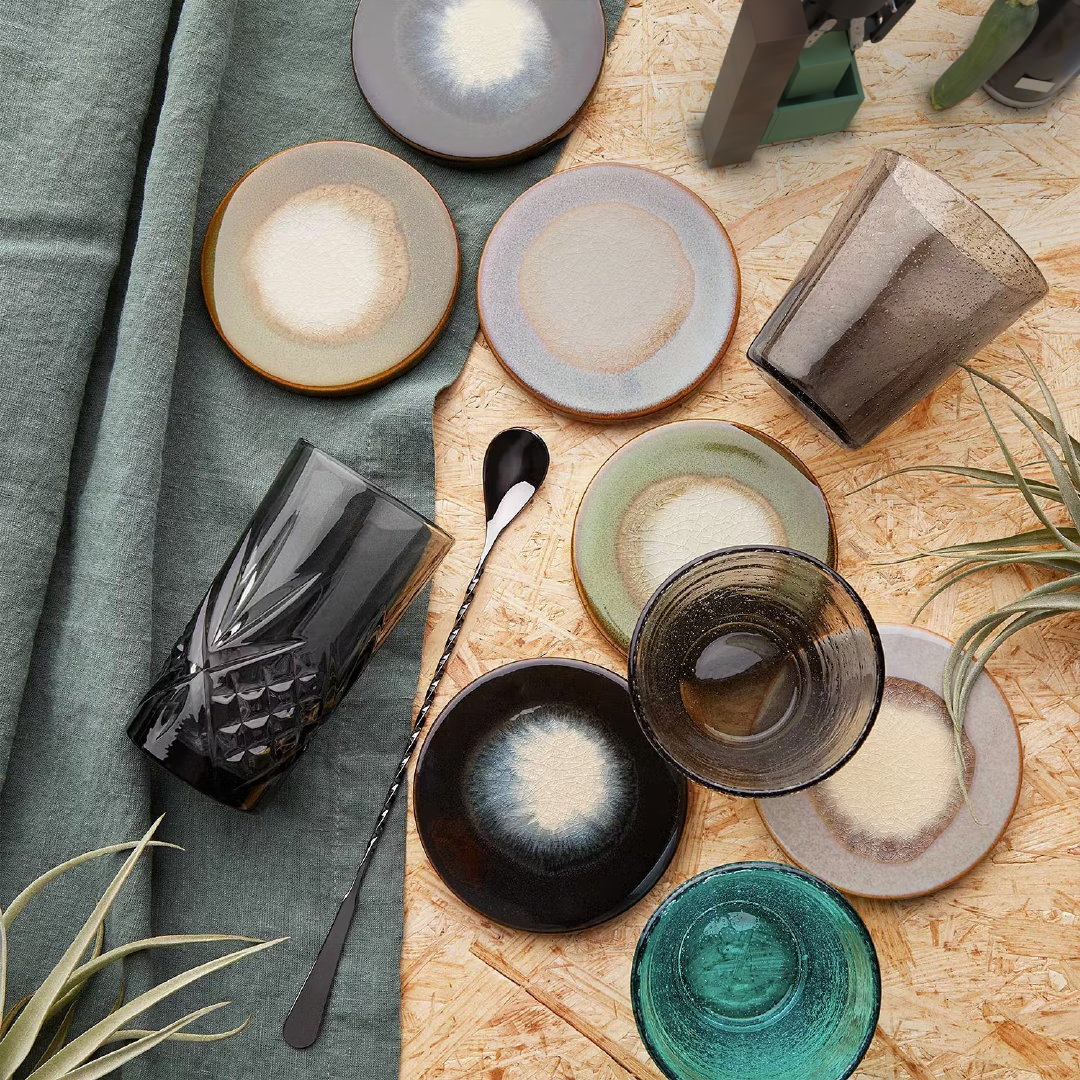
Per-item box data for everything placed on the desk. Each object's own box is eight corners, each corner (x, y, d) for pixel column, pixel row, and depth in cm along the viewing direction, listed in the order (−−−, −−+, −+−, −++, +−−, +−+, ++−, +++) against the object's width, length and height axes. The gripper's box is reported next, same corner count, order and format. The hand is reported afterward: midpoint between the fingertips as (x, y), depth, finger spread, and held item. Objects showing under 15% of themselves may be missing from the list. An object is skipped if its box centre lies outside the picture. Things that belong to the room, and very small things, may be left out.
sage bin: (826, 47, 97) (844, 11, 91) (845, 130, 96) (865, 98, 90) (740, 62, 96) (753, 27, 91) (758, 145, 95) (773, 114, 90)
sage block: (823, 44, 92) (840, 10, 87) (834, 90, 92) (852, 59, 87) (774, 52, 92) (788, 18, 87) (785, 99, 92) (800, 67, 87)
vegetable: (964, 90, 96) (1078, -53, 77) (962, 129, 96) (1076, -5, 76) (922, 86, 96) (1024, -59, 76) (919, 125, 96) (1022, -10, 76)
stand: (741, 121, 96) (798, -16, 76) (750, 161, 95) (809, 34, 75) (699, 128, 96) (745, -7, 76) (708, 168, 95) (756, 43, 75)
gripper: (791, -4, 74) (742, 116, 91) (965, -33, 75) (885, 92, 91) (771, -89, 75) (727, 46, 92) (944, -117, 75) (868, 22, 92)
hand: (806, 68), depth 92 cm, fingers closed on sage block, 5 cm apart
